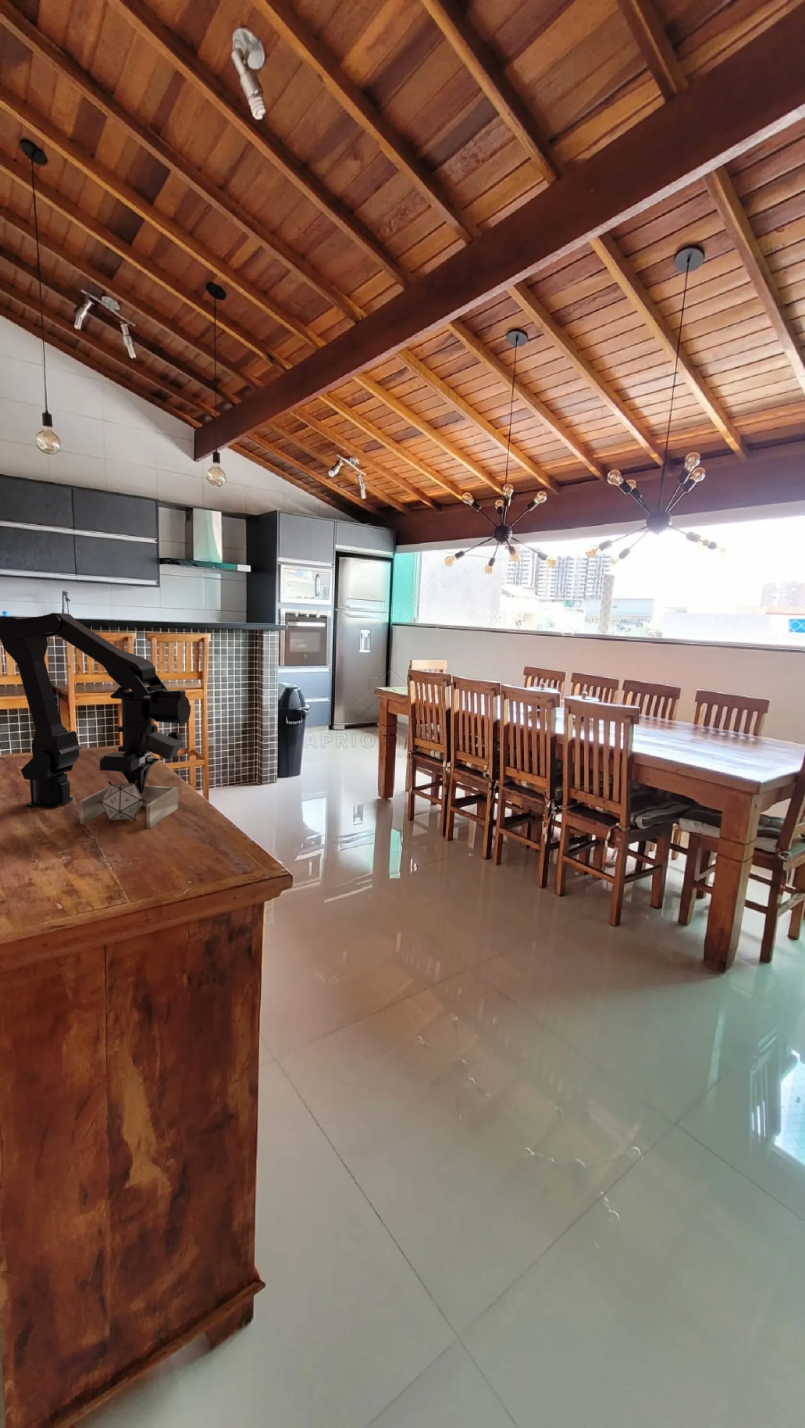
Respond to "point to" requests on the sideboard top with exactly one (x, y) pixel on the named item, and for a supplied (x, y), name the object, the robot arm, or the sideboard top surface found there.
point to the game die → (122, 801)
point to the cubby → (157, 805)
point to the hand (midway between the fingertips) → (138, 794)
